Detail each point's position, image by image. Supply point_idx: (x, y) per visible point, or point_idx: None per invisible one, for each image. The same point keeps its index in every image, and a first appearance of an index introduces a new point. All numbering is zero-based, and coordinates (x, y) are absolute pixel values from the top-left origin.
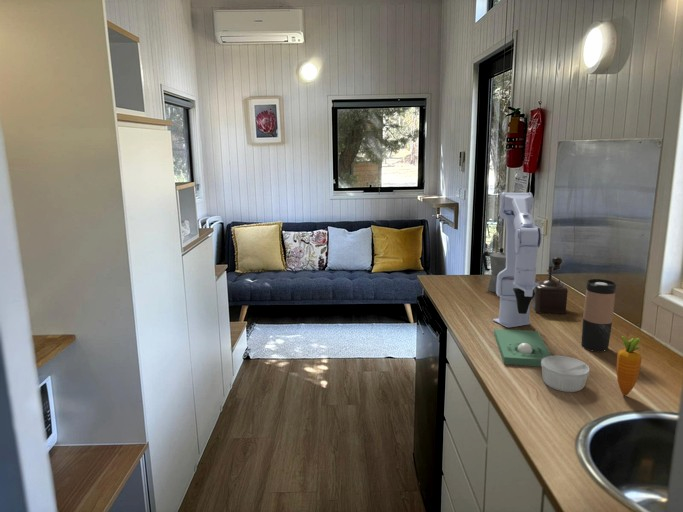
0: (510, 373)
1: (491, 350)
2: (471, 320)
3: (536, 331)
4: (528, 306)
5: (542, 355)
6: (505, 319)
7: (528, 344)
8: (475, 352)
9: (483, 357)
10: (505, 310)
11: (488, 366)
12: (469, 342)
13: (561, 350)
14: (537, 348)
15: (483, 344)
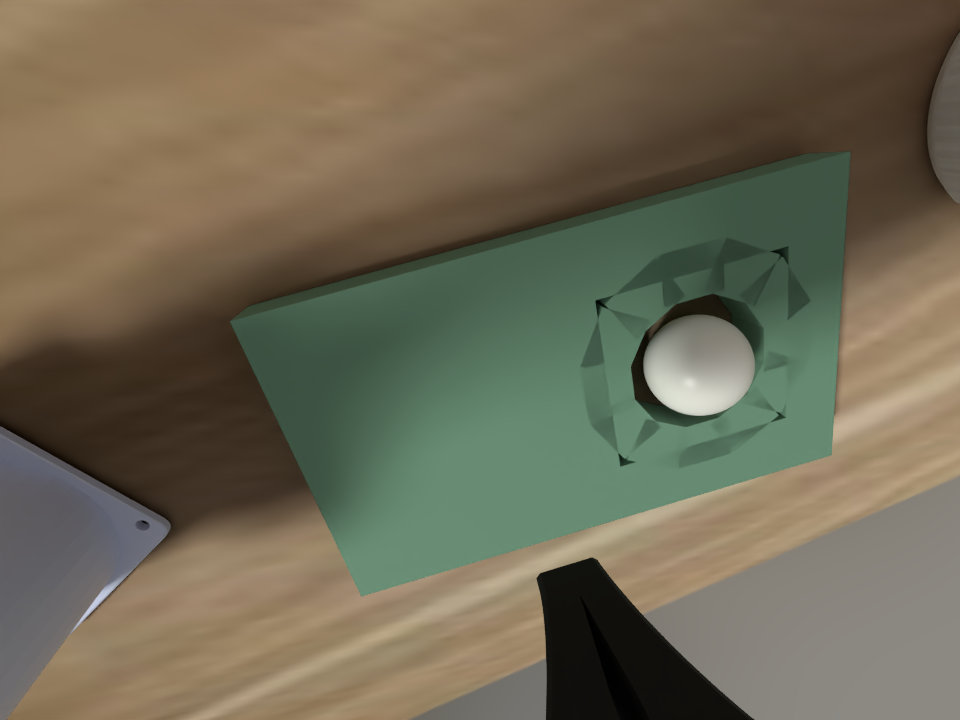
0: (906, 384)
1: (627, 519)
2: (166, 716)
3: (245, 329)
4: (665, 639)
5: (773, 242)
6: (97, 585)
7: (729, 362)
8: (676, 573)
9: (731, 530)
10: (38, 666)
11: (834, 487)
12: None
13: (466, 92)
14: (646, 287)
15: None
